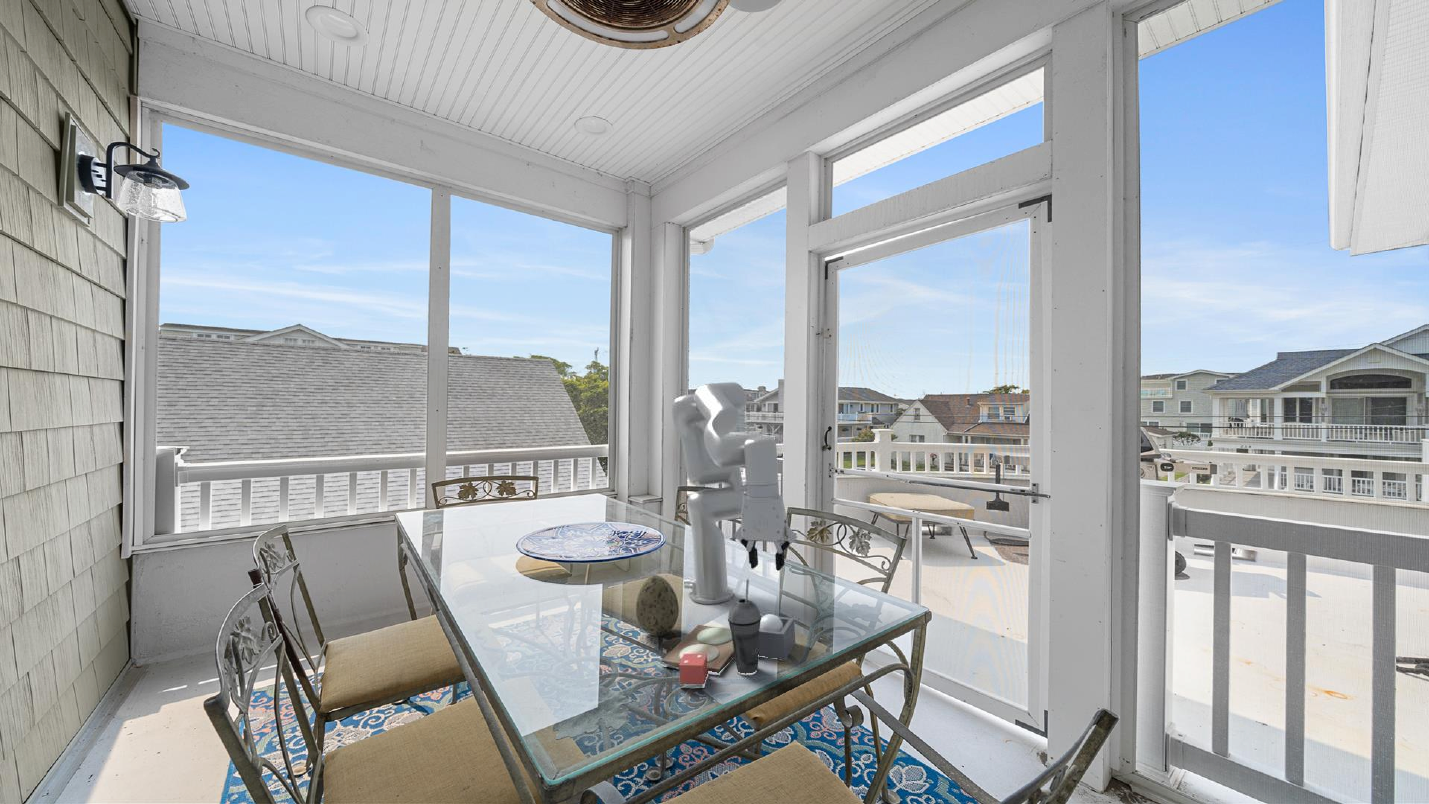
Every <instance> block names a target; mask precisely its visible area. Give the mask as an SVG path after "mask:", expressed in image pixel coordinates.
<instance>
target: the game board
mask: <svg viewBox="0 0 1429 804" xmlns="http://www.w3.org/2000/svg"><path fill="white" fill-rule="evenodd" d="M684 654H707V667H708V671H712V672H717V673H719V672H720V671H721V670H722V669H723V668H724V667H725V666H726V665H727V664H728V663H729V662H730V661H731V660H732V661H733V659H735V655H734V648H733V641H732V634H731V629H730V628H725V627H718V626H711V625H710V626H709V625H701V624H697V625H696V626H695V627H694V628H693V630H691V631H690V632H689V633H688V634H687V635H686V636H685V637H684V638H683V639H682V640H681V641H680V642H679V643H678V644H677V645H676V646H675V647H673V649H672V650H671V651H670V652H669V653H668V654H667V655H666V656H664V657H663V658H662V659H661V663H662V662H664V663H665V664H669V665H672V666H674V667H679V664H680V662H681V660H682V657H683V655H684ZM732 658H733V659H732ZM732 661H731V662H732ZM731 662H730V663H731ZM730 663H729V664H730Z"/></svg>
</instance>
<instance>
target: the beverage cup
mask: <svg viewBox="0 0 1429 804" xmlns="http://www.w3.org/2000/svg"><path fill="white" fill-rule="evenodd" d="M749 582H750V580H749V579H748V578H747V579H746V585H745V598H741V599H737V600H736V601H734V603H732V605H730V608H729V610H728V617H727V622H728V625H729V629H731V634H732V641H733V648H734V655H735V657H734V661H735V666H736V670H738V672H740V673H745V674H746V673H753V672H755V671H756V670H757V669H758V668H759V657H758V655H759V629H760V620H761V616H760V615H761V612H760V610H759V607H758V605H757V604H756V603H755V602H753V600H750V599H749V587H750V586H749ZM738 672H737V673H738Z"/></svg>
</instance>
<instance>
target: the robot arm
mask: <svg viewBox="0 0 1429 804" xmlns="http://www.w3.org/2000/svg"><path fill="white" fill-rule="evenodd" d="M746 404H747V394H746V391H745V389H744V388H743V386H742V385H741V384H740V383H737V382H734V381H731V382H716V383H714V382H713V383H706V384H702V385H700V386H699V387H698V388H697V389H696V391H695V392H694V393H693V394H691V393H690V394H684V395H681V396H679V397H677V398H676V399H674V401H673V403H672V407H671V413H672V421H673V423H674V427H675V428H676V431H677V434H678V436H679V437H680V438H679V439H680V440H681V443H682V450H683V456H684V463H685V469H686V470H685V471H686V474H687V475H686V476H687V479H688V481H689V482H690V484H691V485H693V486H699V487H701V486H709V485H717V484H723V486H724V487H717V488H715V487H714V488H709V489H707V488H706V489H702V490H697V491H695V492H693V493H691V494H690V495H689V496H688V498H687V501H686V508H687V514H688V517H689V522H690V526H691V527H690V528H691V529H690V530H691V538H692V540H691V541H692V553H693V566H694V567H693V568H694V580H693V579H684V582H683V586H684V589H691V592H690V599H691V600H692V601H693V602H695V603H698V604H703V605H704V604H705V605H713V604H715V605H716V604H721V603H724V602H727V601H729V600H731V599H732V598H733V597H734V590H733V589H732V588H731V587H730V586H728V572H727V570H728V569H727V553H726V552H727V551H726V540H725V539H726V538H725V535H724V532H723V531H722V530H721V529H720V528H719V526H718V525H717V524H716V523H718V522H721V521H727V520H734V519H737V518H741V519H740V527H738V529H737V530H736V532H734V534H733V535H734V537H735V538H736V539H737V540H738V541H739V542H740V543H741V545H742V546H744V548H745V549H746V551H747V552H748V563H749V564H750V568H751V569H752V570H753V569H755V568H756V567H758V565H759V557H758V555H759V554H758V549H757V547H756V543H757V542H767V543H774V547H775V550H776V552H775V555H774V557H775V560H774V561H775V570H776V571H778V572H779V571H781V569H783V567H785V550H786V549H787V548H788V547H789V546H790V545H792V544H793V543H794V542H795V541H797V539H798V536H797V534H796V533H795V532H794V531H793V530H792V529H791V527H789V525H788V520H787V513H786V508H785V502H784V500H783V496H782V495H780V489H779V487H780V486H779V484H780V483H779V471H778V470H779V468H778V467H779V466H778V451H777V449H778V448H777V442H776V439H774V438H773V437H770V436H764V435H763V434H760V433H750V434H738V435H737V434H736V435H729V436H728V434H730V433H731V432H733V431H734V430H735V429H736V428H737V426H738V425H739V423H740V419H741V416H740V415H741V412H742V411H743V410H744V409H745V407H746ZM698 423H706V426H705V427H704V428H703V427H702V426H700V425H699V424H698ZM726 435H727V436H726ZM741 467H744V470H745V471H744V472H745V475H744V476H745V483H743V477H742V472H741V471H742V470H741ZM785 537H788V539H787V540H786V541H784V538H785Z"/></svg>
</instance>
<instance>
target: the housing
mask: <svg viewBox="0 0 1429 804" xmlns="http://www.w3.org/2000/svg"><path fill="white" fill-rule="evenodd" d="M765 615H766V614H760V616H761V618H762V617H763V616H765ZM777 617H778V618H779V619H780V620H781V621H782V624H783V629H782V630H781V632H776V631H768V630H760V629H759V656H765V657H768V658H767V659H769V658H777V659H782V660H781V661H783V660H785V661H786V659H787V658H788V656H789V655H790V653H789V652H791V651H792V650H793V648H794V646H795V645H796V629H795V628H796V627H795V618H793V617H783V616H777ZM791 649H792V650H791ZM788 654H789V655H788ZM787 655H788V656H787ZM786 657H787V658H786ZM785 658H786V659H785Z"/></svg>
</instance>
